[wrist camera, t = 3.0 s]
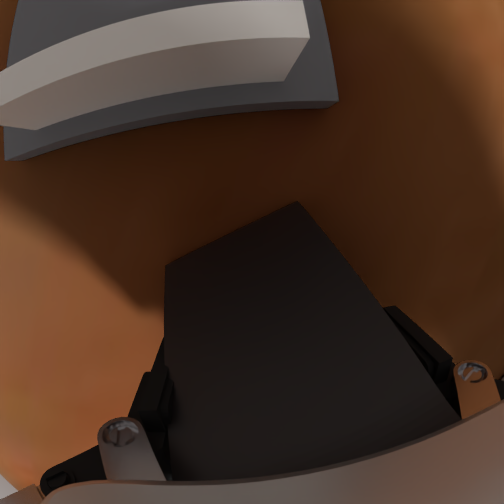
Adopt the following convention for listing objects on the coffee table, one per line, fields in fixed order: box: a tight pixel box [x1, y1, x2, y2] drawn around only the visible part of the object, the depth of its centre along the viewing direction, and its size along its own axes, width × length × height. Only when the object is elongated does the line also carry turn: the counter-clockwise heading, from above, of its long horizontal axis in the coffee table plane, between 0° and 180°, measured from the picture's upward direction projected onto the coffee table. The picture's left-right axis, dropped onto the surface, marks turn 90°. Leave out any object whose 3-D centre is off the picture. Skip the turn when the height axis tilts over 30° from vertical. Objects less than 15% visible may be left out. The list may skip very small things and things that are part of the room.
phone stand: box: [164, 201, 462, 481], centre depth 8 cm, size 9×6×12 cm, turn 25°
